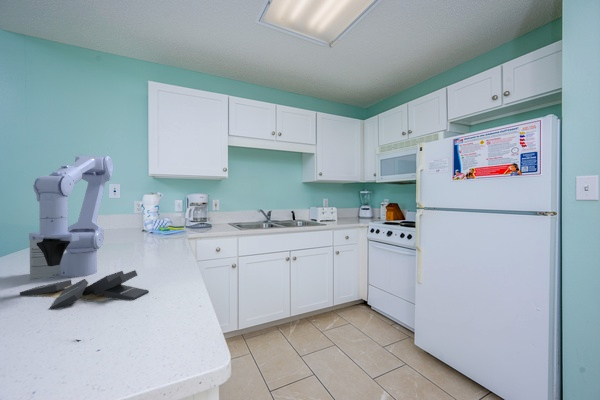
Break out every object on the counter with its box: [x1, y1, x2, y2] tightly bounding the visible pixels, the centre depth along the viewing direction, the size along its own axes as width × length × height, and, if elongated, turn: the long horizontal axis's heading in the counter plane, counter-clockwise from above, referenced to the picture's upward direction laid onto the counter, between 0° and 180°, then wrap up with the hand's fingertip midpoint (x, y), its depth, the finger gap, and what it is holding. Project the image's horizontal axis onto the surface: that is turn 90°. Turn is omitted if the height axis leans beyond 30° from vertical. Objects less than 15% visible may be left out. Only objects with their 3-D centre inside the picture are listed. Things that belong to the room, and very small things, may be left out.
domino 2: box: [50, 278, 89, 310], centre depth 64 cm, size 2×5×9 cm
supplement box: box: [29, 237, 67, 280], centre depth 88 cm, size 9×9×15 cm
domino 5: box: [104, 283, 150, 301], centre depth 67 cm, size 2×5×9 cm
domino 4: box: [94, 269, 138, 295], centre depth 68 cm, size 2×5×9 cm
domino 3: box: [82, 270, 125, 295], centre depth 69 cm, size 2×5×9 cm
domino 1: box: [19, 279, 73, 297], centre depth 70 cm, size 2×5×9 cm
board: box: [34, 283, 110, 302], centre depth 69 cm, size 21×9×1 cm, turn 81°
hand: (54, 265), depth 71 cm, fingers closed
